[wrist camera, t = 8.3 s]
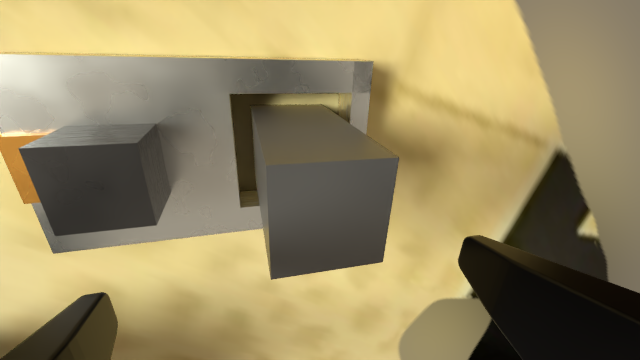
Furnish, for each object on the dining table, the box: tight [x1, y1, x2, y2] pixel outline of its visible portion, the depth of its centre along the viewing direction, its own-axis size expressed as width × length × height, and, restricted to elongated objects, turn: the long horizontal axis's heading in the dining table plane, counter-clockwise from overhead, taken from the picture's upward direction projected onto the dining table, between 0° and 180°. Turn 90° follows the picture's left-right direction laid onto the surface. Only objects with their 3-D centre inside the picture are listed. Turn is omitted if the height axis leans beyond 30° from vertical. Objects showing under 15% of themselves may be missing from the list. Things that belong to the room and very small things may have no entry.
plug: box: [251, 104, 399, 279], centre depth 13 cm, size 4×4×9 cm
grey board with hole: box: [0, 52, 373, 254], centre depth 14 cm, size 9×16×5 cm, turn 88°
